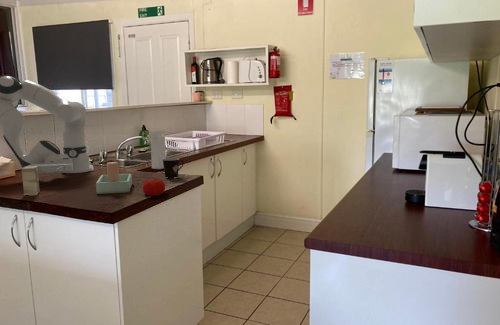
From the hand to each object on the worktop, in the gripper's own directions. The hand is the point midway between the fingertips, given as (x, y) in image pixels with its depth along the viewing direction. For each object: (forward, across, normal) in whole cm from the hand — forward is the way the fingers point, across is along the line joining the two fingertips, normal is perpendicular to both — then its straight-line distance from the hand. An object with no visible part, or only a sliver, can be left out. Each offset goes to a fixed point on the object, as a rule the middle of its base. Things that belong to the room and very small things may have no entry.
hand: (46, 170), depth 192 cm
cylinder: (+11, +31, +8) cm, 34 cm away
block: (+10, -4, +8) cm, 14 cm away
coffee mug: (-12, +59, +9) cm, 61 cm away
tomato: (+22, +49, +9) cm, 54 cm away
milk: (-42, +51, +9) cm, 66 cm away
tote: (+7, +31, +9) cm, 33 cm away
